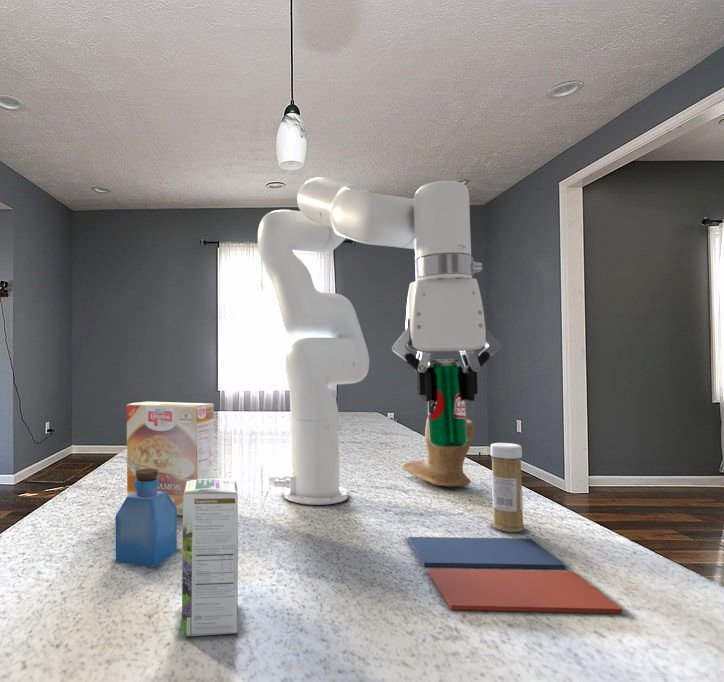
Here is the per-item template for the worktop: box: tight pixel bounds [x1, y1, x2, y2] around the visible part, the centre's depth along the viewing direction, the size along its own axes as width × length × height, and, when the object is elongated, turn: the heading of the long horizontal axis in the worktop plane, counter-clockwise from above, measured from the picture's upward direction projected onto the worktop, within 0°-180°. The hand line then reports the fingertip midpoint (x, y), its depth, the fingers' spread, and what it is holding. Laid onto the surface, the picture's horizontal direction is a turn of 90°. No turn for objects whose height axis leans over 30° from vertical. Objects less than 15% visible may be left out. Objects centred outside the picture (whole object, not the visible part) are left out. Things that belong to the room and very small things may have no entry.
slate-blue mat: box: [407, 536, 566, 569], centre depth 74 cm, size 18×10×1 cm, turn 86°
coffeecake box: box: [126, 401, 215, 517], centre depth 98 cm, size 15×7×20 cm, turn 68°
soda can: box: [426, 358, 468, 447], centre depth 75 cm, size 5×5×12 cm
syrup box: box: [181, 478, 239, 637], centre depth 56 cm, size 6×6×14 cm
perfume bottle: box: [115, 468, 178, 568], centre depth 75 cm, size 6×6×12 cm
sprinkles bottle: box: [490, 442, 525, 533], centre depth 85 cm, size 5×5×13 cm
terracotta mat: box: [427, 568, 623, 615], centre depth 62 cm, size 18×10×1 cm, turn 86°
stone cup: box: [401, 417, 475, 487], centre depth 116 cm, size 15×12×15 cm
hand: (447, 398), depth 74 cm, fingers closed on soda can, 5 cm apart
